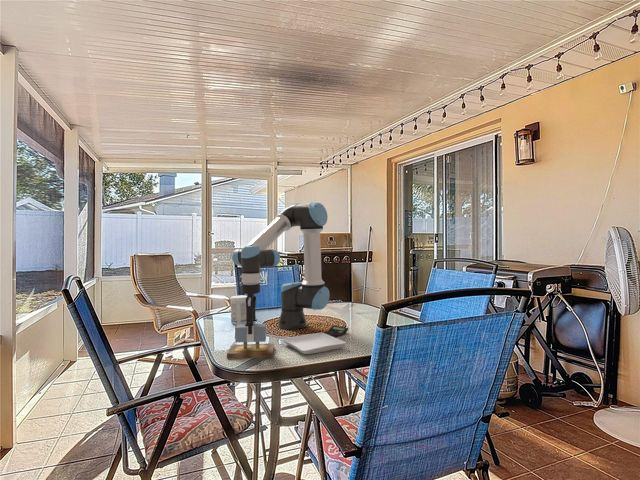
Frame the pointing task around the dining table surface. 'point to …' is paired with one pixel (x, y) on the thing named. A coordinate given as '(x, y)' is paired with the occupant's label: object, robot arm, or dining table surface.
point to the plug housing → (258, 333)
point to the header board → (251, 350)
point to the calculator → (336, 331)
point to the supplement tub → (238, 309)
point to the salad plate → (314, 343)
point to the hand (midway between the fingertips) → (251, 339)
